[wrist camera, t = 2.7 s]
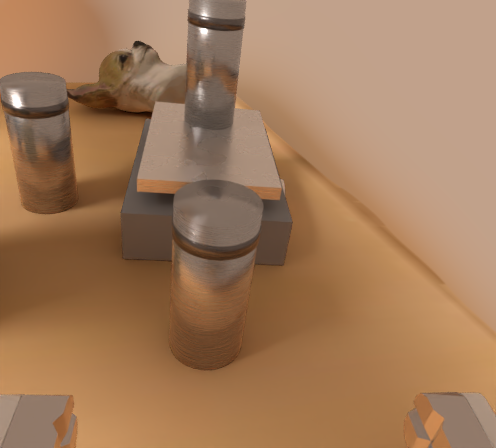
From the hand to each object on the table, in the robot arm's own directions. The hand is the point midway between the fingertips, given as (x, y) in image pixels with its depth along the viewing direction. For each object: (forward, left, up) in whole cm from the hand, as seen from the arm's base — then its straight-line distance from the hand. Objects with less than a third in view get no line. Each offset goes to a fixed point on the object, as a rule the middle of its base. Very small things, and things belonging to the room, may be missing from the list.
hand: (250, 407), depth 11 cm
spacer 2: (0, +33, -6) cm, 33 cm away
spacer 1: (-13, +28, -12) cm, 33 cm away
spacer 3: (0, +13, -12) cm, 17 cm away
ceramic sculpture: (-9, +50, -12) cm, 52 cm away
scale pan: (0, +29, -7) cm, 29 cm away
